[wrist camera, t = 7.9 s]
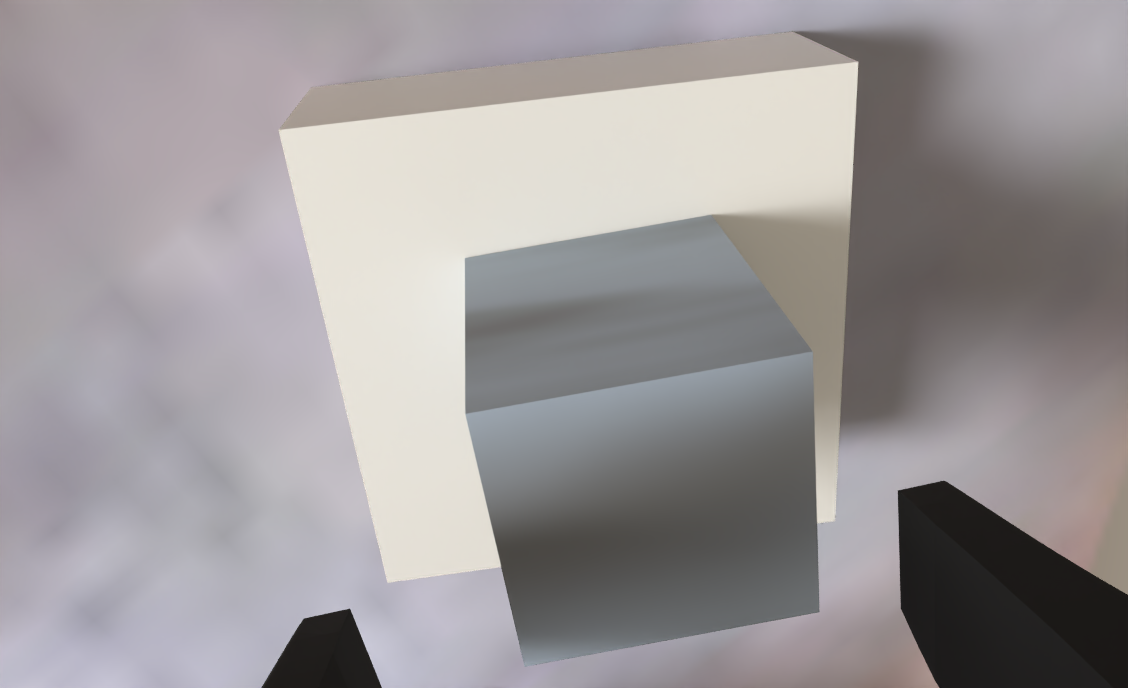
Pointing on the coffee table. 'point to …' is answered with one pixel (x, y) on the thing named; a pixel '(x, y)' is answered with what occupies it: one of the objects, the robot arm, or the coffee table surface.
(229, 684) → the coffee table surface
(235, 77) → the coffee table surface
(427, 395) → the base box
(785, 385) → the block
